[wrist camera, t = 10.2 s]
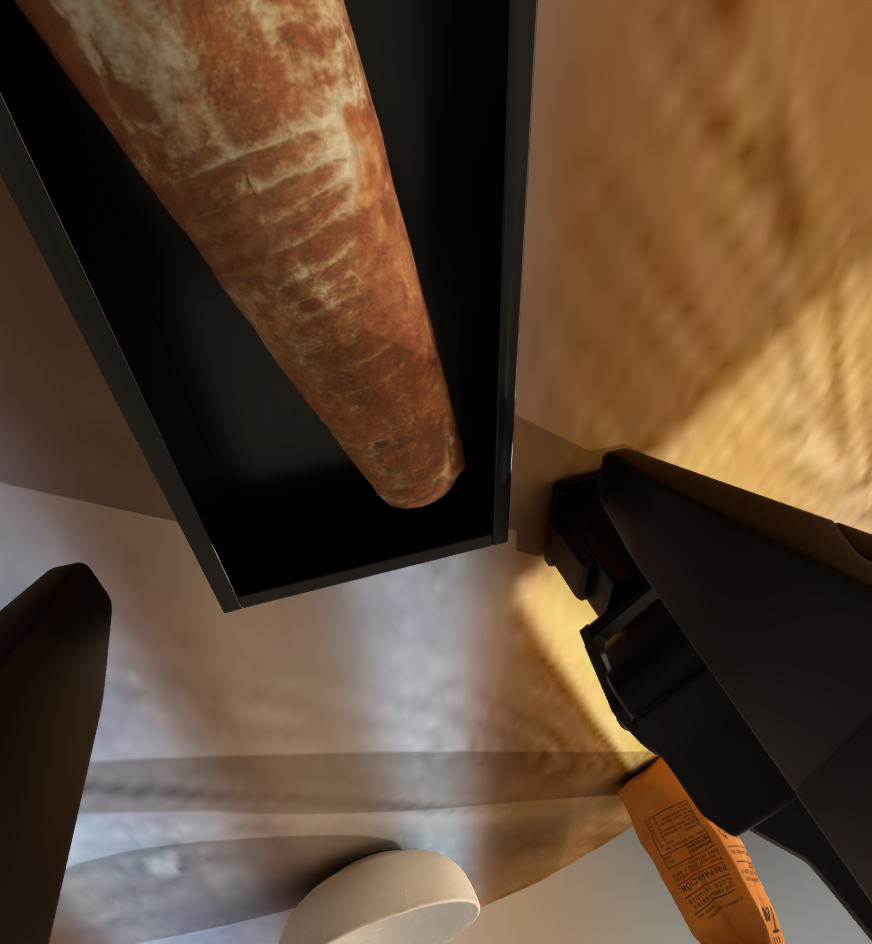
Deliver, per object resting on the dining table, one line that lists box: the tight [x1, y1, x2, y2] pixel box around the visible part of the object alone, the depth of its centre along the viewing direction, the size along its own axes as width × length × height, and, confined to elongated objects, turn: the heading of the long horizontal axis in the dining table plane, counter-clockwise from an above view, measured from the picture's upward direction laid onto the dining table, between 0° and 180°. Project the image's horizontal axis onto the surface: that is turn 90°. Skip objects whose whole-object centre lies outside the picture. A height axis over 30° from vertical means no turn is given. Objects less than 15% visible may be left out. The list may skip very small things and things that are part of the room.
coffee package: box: [618, 757, 785, 944], centre depth 54 cm, size 10×12×22 cm
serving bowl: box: [279, 849, 480, 944], centre depth 50 cm, size 21×21×7 cm
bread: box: [14, 0, 465, 509], centre depth 14 cm, size 6×19×6 cm, turn 18°
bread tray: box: [0, 0, 538, 613], centre depth 14 cm, size 12×23×5 cm, turn 3°
